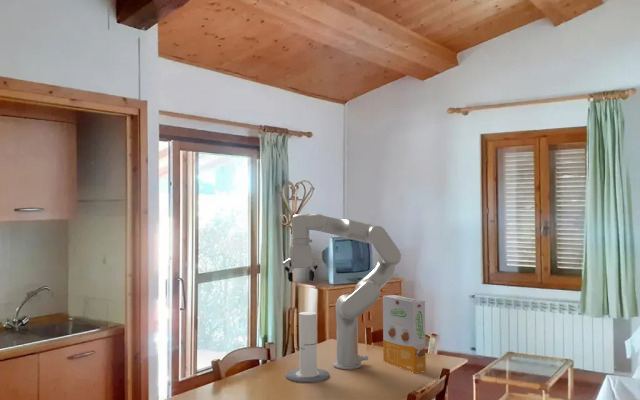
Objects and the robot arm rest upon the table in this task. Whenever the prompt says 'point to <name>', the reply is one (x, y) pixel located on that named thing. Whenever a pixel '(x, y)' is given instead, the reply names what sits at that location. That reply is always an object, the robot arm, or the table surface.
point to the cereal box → (404, 332)
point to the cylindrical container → (307, 343)
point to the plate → (297, 377)
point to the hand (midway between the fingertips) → (301, 280)
